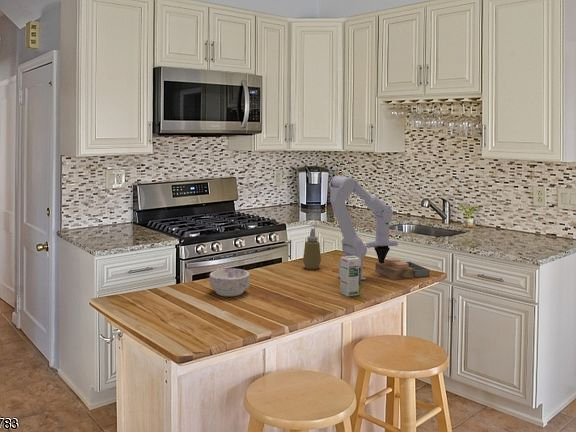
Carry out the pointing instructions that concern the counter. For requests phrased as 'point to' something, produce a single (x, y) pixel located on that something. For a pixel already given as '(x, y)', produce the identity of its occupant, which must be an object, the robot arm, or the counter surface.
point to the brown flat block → (394, 271)
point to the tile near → (400, 265)
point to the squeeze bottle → (312, 252)
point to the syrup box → (350, 276)
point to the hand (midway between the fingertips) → (381, 263)
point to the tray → (419, 270)
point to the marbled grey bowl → (229, 281)
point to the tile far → (389, 261)
